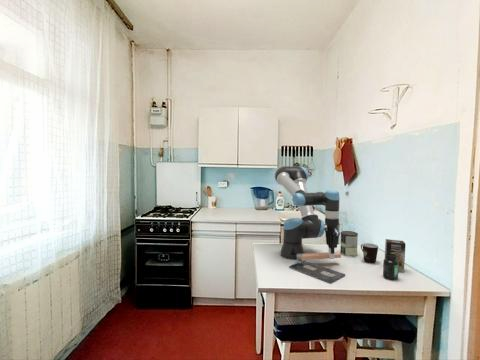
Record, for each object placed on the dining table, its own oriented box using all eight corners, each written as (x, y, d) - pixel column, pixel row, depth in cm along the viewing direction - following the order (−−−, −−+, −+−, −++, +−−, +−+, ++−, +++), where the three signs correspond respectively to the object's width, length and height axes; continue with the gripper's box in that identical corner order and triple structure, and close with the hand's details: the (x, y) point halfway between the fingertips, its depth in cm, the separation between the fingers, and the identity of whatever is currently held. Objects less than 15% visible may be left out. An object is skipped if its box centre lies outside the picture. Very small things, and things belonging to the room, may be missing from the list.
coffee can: (337, 254, 174) (338, 232, 173) (344, 250, 181) (344, 230, 181) (353, 258, 167) (353, 235, 166) (359, 254, 174) (360, 232, 173)
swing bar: (298, 260, 151) (298, 256, 151) (295, 257, 155) (295, 253, 155) (340, 258, 155) (340, 253, 155) (336, 255, 159) (337, 251, 159)
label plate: (289, 267, 151) (289, 261, 151) (304, 262, 160) (304, 255, 160) (330, 283, 131) (330, 276, 131) (345, 276, 140) (345, 269, 140)
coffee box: (385, 270, 147) (386, 241, 146) (383, 266, 153) (385, 238, 152) (404, 273, 144) (405, 243, 143) (402, 268, 150) (403, 240, 149)
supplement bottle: (399, 281, 134) (400, 257, 133) (384, 279, 136) (385, 256, 135) (395, 275, 140) (396, 253, 140) (381, 274, 142) (382, 252, 142)
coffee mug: (379, 264, 156) (380, 248, 155) (363, 263, 157) (364, 247, 157) (373, 258, 167) (374, 242, 166) (359, 257, 169) (359, 241, 168)
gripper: (344, 219, 146) (343, 262, 148) (332, 215, 159) (331, 254, 160) (331, 220, 145) (331, 263, 146) (320, 215, 158) (319, 255, 159)
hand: (331, 258), depth 153 cm, fingers closed
